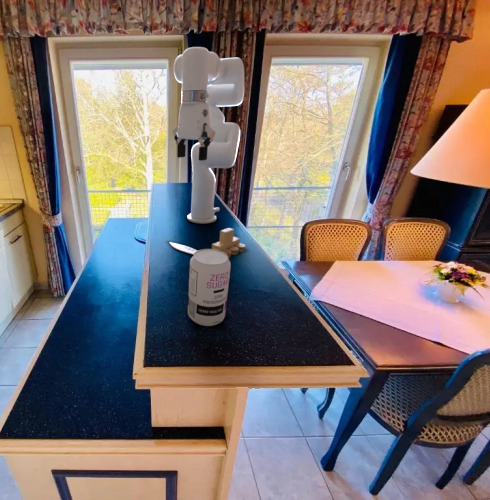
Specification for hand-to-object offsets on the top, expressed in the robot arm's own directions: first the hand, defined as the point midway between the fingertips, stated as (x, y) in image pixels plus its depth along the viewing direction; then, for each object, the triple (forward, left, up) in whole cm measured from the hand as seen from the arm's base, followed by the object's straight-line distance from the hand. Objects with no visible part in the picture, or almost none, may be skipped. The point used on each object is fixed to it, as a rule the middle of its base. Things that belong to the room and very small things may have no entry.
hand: (191, 158), depth 90 cm
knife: (+10, +13, -28) cm, 33 cm away
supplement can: (+28, +34, -28) cm, 52 cm away
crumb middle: (-3, +18, -28) cm, 34 cm away
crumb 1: (+1, +18, -28) cm, 33 cm away
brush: (-3, +15, -28) cm, 32 cm away
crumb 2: (-7, +18, -28) cm, 34 cm away
